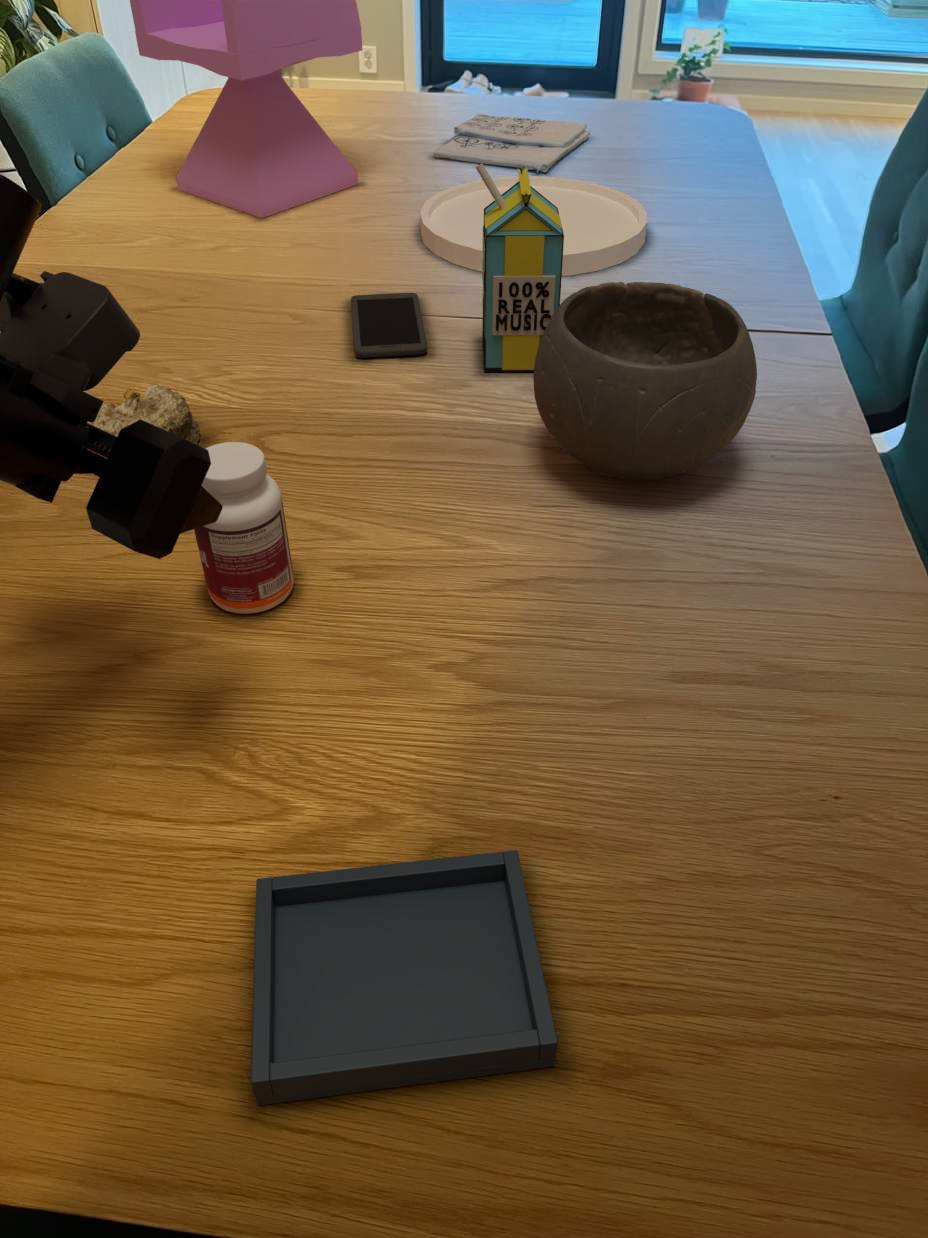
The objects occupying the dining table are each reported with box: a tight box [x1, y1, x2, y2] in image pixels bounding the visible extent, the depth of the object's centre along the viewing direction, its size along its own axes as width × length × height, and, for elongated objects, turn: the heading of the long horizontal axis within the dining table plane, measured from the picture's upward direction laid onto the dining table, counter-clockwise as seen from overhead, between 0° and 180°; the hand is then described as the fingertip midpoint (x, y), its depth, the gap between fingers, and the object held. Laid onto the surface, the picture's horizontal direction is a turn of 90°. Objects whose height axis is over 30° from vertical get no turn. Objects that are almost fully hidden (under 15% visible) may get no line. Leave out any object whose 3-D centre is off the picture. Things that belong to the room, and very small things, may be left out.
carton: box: [475, 163, 564, 374], centre depth 96 cm, size 7×8×18 cm
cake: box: [87, 384, 201, 445], centre depth 87 cm, size 10×10×5 cm
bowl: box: [533, 281, 758, 481], centre depth 83 cm, size 18×18×13 cm
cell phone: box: [350, 292, 428, 359], centre depth 106 cm, size 7×14×1 cm, turn 6°
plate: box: [419, 175, 648, 277], centre depth 126 cm, size 28×28×2 cm
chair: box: [129, 0, 363, 219], centre depth 131 cm, size 20×20×30 cm
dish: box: [250, 849, 558, 1106], centre depth 50 cm, size 14×11×2 cm
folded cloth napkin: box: [433, 113, 591, 174], centre depth 153 cm, size 19×20×2 cm
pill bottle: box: [193, 441, 295, 615], centre depth 70 cm, size 6×6×11 cm
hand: (166, 488), depth 63 cm, fingers open, 9 cm apart
